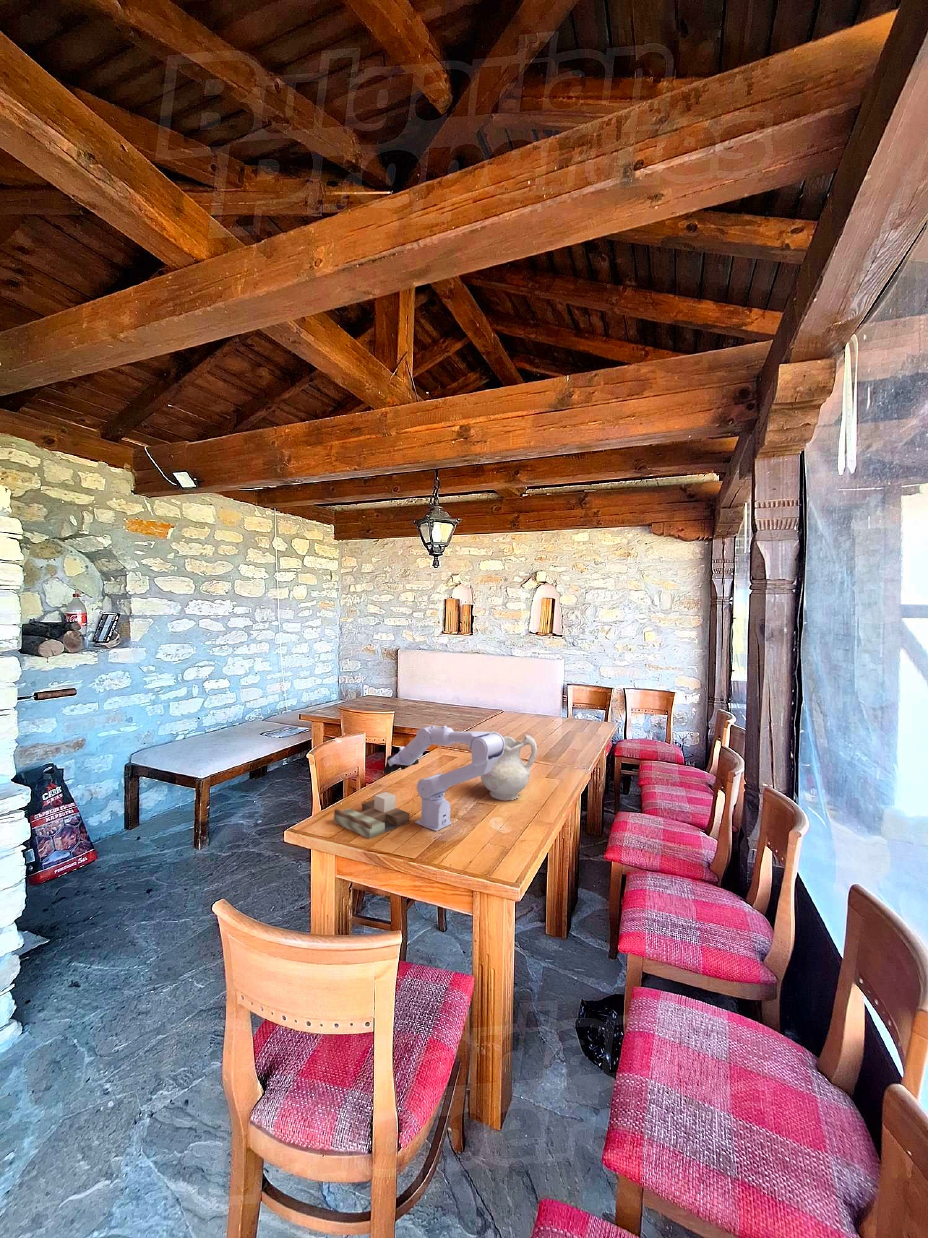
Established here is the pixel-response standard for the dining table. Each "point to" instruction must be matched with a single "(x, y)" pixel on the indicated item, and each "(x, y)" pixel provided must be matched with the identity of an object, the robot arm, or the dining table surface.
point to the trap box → (371, 820)
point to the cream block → (384, 802)
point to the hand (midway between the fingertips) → (393, 769)
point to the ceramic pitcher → (510, 769)
